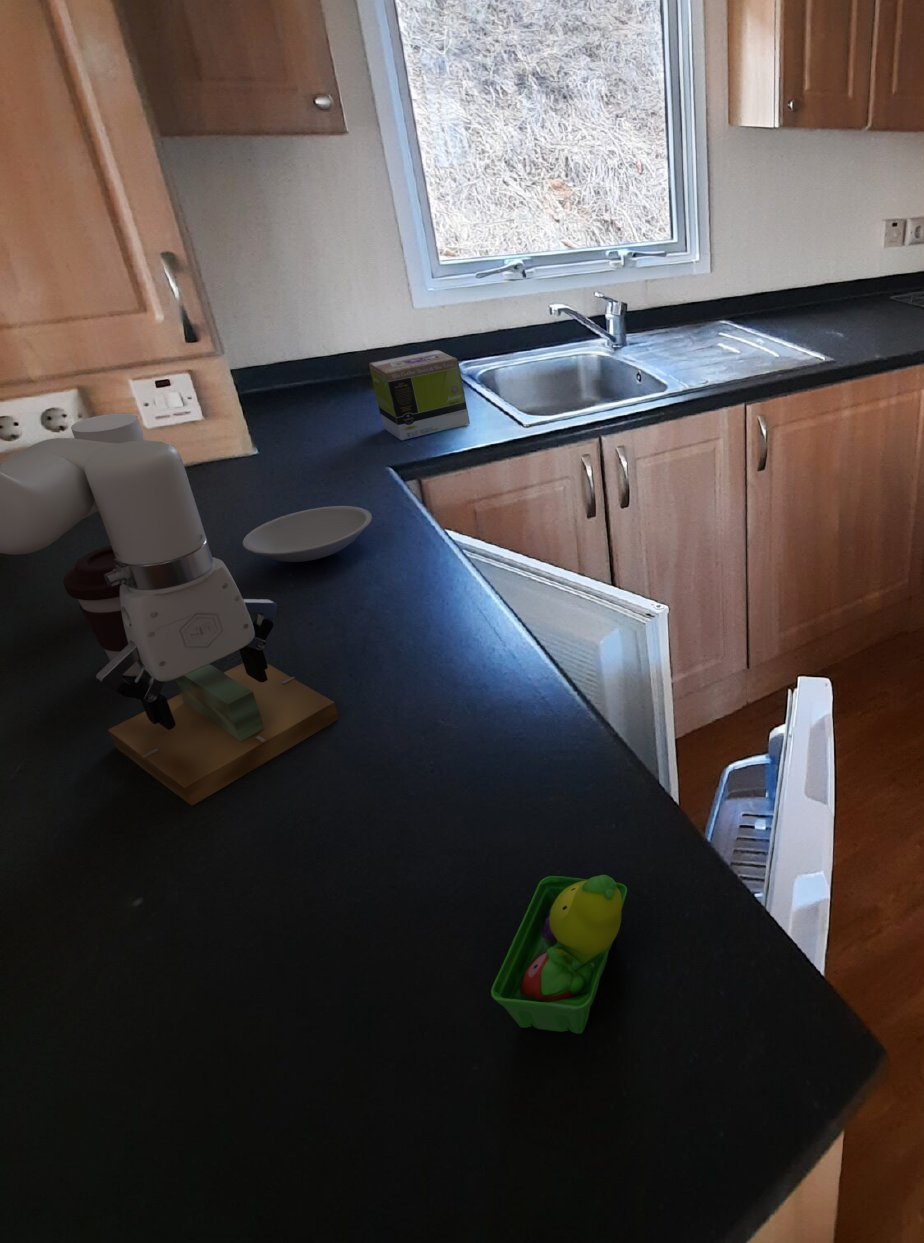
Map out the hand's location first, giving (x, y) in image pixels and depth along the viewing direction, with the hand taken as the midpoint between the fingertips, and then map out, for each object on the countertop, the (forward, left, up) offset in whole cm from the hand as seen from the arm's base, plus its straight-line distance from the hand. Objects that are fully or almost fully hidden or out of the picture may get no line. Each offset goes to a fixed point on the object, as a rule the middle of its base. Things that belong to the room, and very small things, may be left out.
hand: (213, 699), depth 94 cm
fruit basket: (-1, -54, -5) cm, 55 cm away
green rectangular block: (0, 0, -2) cm, 2 cm away
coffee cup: (+2, +22, -5) cm, 22 cm away
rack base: (0, 0, -5) cm, 5 cm away
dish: (+29, +30, -5) cm, 42 cm away
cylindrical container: (+12, +40, -5) cm, 42 cm away
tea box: (+75, +64, -5) cm, 99 cm away
